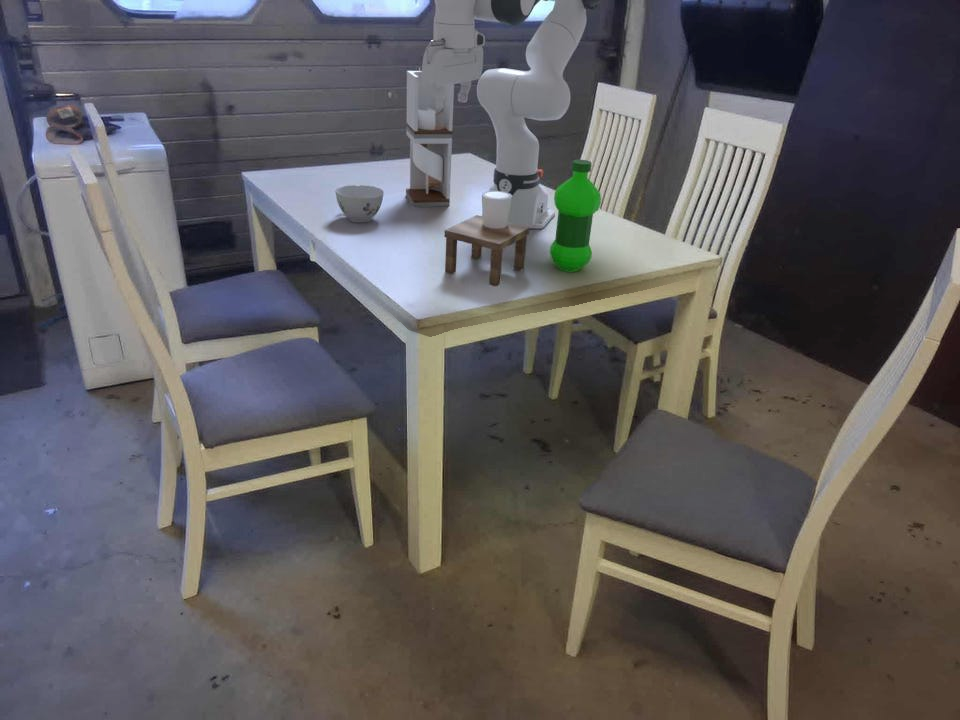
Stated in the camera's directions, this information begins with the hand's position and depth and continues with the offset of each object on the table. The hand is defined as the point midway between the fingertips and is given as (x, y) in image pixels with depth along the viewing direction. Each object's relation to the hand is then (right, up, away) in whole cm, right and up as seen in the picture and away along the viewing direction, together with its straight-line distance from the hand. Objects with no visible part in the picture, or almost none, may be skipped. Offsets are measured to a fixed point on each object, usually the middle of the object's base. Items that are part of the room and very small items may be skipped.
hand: (451, 104), depth 160 cm
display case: (-9, -11, +49) cm, 51 cm away
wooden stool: (+8, -37, +4) cm, 38 cm away
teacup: (-27, -20, +32) cm, 46 cm away
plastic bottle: (+28, -36, +8) cm, 46 cm away
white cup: (+10, -27, +2) cm, 29 cm away
